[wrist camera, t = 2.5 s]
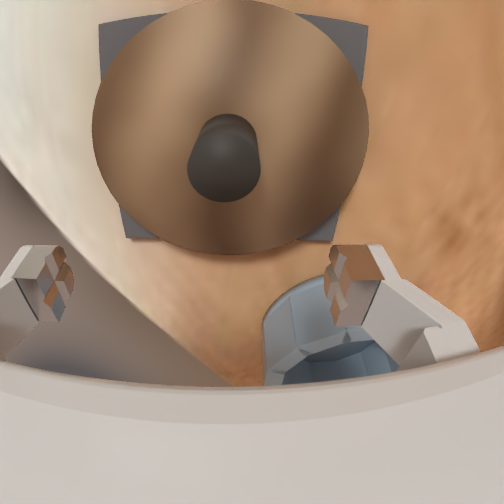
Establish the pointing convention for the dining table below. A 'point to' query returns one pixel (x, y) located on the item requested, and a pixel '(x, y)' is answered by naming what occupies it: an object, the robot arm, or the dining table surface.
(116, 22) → the mat
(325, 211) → the lid
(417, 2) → the dining table surface
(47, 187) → the dining table surface
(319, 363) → the bowl
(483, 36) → the dining table surface
